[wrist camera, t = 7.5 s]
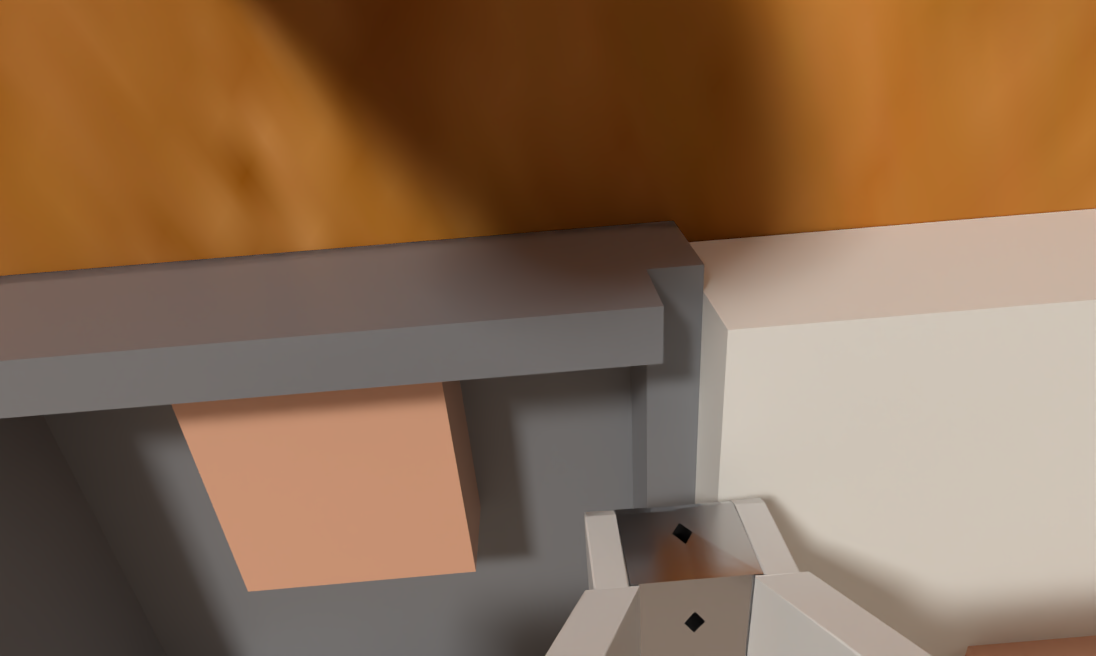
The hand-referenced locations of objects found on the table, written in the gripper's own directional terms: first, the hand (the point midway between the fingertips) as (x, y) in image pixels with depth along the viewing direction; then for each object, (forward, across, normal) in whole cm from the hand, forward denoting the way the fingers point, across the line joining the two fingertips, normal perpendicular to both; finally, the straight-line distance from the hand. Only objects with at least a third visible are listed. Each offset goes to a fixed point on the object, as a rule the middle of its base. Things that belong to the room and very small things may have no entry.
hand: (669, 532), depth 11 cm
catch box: (+5, +6, +4) cm, 9 cm away
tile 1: (+2, +6, 0) cm, 7 cm away
